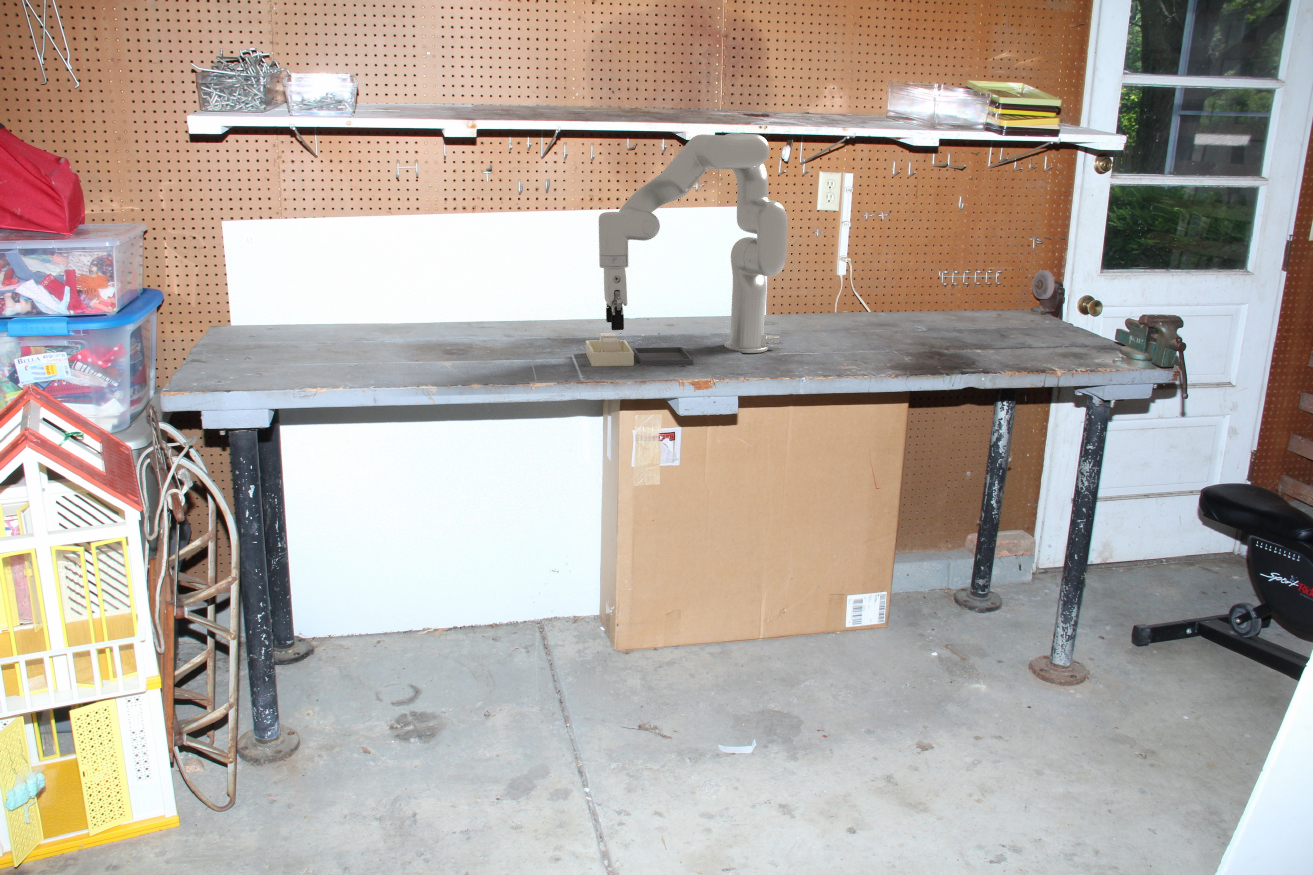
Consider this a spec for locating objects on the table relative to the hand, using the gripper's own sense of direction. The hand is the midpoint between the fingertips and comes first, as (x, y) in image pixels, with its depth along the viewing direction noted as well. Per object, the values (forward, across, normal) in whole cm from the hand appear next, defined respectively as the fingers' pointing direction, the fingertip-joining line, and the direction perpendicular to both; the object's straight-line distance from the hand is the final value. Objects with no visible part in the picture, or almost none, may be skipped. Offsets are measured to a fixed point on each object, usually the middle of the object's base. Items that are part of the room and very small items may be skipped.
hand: (614, 325), depth 259 cm
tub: (+10, +2, +2) cm, 10 cm away
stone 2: (+9, -2, +2) cm, 10 cm away
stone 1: (+9, +5, +1) cm, 11 cm away
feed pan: (+10, +2, -13) cm, 17 cm away
